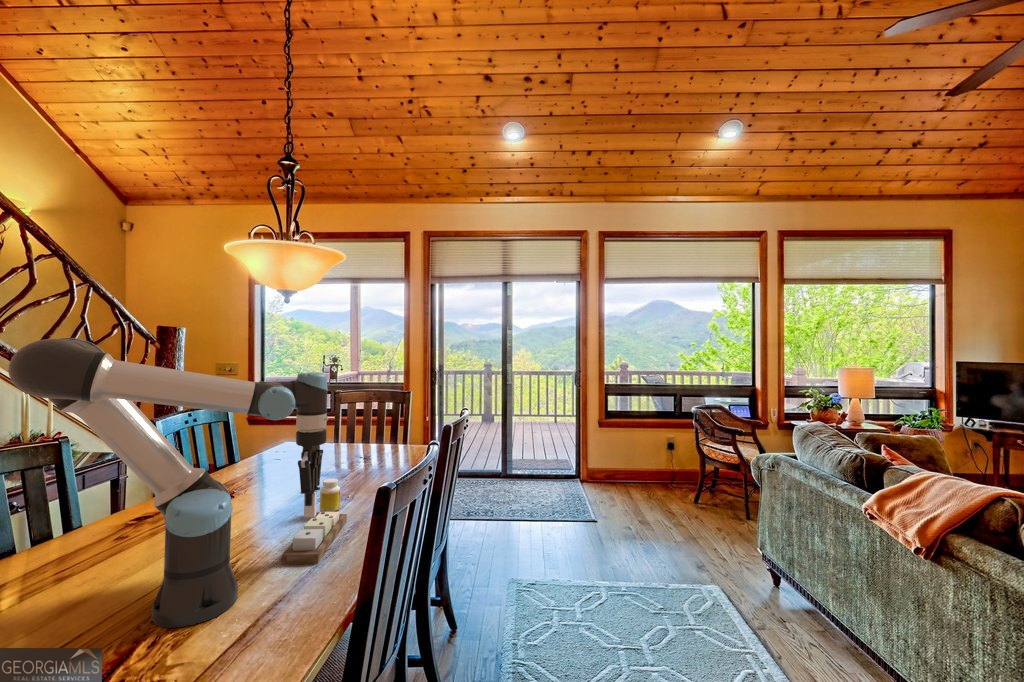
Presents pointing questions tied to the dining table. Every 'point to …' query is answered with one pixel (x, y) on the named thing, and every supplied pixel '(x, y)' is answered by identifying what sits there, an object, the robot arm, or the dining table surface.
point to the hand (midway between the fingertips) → (310, 515)
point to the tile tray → (317, 555)
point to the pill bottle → (330, 496)
